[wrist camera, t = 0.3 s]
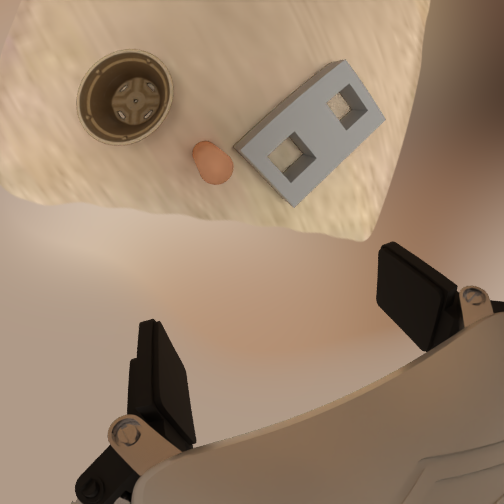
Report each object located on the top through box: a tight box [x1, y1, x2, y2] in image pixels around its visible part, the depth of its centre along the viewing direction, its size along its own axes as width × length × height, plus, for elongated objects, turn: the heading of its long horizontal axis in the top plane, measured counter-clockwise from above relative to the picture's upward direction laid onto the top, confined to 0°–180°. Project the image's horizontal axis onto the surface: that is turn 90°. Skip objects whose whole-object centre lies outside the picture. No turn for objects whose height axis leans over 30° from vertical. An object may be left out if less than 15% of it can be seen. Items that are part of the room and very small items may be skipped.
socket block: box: [233, 59, 386, 208], centre depth 34 cm, size 18×10×4 cm, turn 133°
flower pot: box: [76, 49, 173, 146], centre depth 25 cm, size 9×9×9 cm
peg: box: [193, 141, 233, 185], centre depth 29 cm, size 3×3×11 cm
